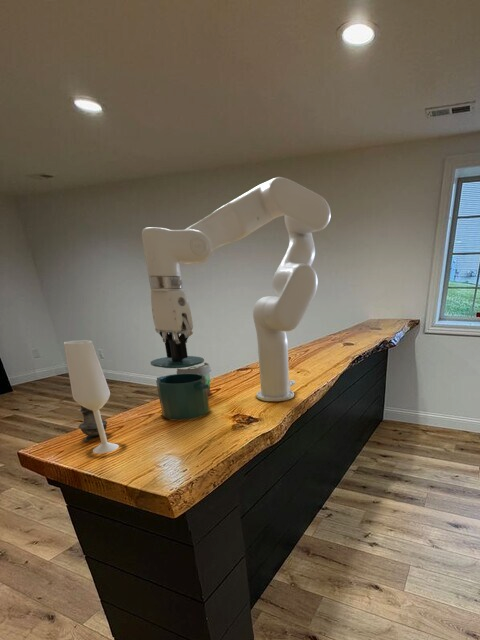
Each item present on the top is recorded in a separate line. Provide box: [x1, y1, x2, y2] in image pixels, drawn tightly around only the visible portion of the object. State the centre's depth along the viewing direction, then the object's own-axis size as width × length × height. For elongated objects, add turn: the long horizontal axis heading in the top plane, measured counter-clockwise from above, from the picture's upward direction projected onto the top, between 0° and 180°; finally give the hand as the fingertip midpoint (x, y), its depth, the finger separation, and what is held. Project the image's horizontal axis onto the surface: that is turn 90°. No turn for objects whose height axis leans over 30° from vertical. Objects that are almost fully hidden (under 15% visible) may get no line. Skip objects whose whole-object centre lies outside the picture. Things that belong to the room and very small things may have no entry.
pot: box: [156, 373, 210, 421], centre depth 99 cm, size 13×18×10 cm
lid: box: [150, 338, 205, 369], centre depth 94 cm, size 14×14×7 cm
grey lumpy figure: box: [78, 405, 108, 442], centre depth 82 cm, size 6×6×12 cm
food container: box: [176, 362, 212, 397], centre depth 116 cm, size 12×6×10 cm, turn 150°
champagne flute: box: [63, 339, 120, 454], centre depth 74 cm, size 7×7×24 cm
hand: (177, 357), depth 95 cm, fingers closed on lid, 3 cm apart
